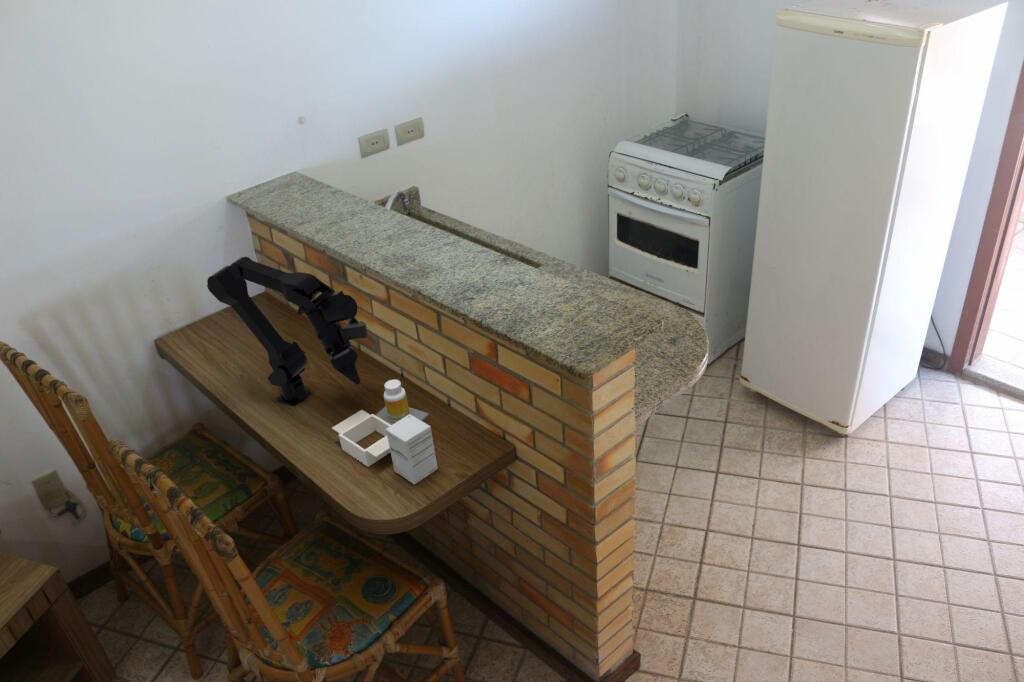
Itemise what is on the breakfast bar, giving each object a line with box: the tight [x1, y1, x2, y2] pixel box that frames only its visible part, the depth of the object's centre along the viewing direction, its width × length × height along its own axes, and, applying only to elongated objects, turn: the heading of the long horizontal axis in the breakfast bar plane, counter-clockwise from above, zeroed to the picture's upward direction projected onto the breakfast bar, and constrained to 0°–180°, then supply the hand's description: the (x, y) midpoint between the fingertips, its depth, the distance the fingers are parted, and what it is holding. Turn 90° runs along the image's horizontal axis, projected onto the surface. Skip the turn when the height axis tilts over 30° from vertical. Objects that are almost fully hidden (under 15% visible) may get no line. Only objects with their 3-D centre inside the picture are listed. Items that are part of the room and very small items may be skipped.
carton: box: [331, 409, 391, 468], centre depth 199 cm, size 17×10×4 cm, turn 46°
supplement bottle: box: [383, 379, 410, 422], centre depth 206 cm, size 5×5×10 cm
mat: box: [374, 405, 430, 425], centre depth 209 cm, size 12×8×1 cm, turn 58°
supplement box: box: [386, 414, 438, 485], centre depth 188 cm, size 7×7×13 cm
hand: (355, 378), depth 207 cm, fingers open, 9 cm apart
